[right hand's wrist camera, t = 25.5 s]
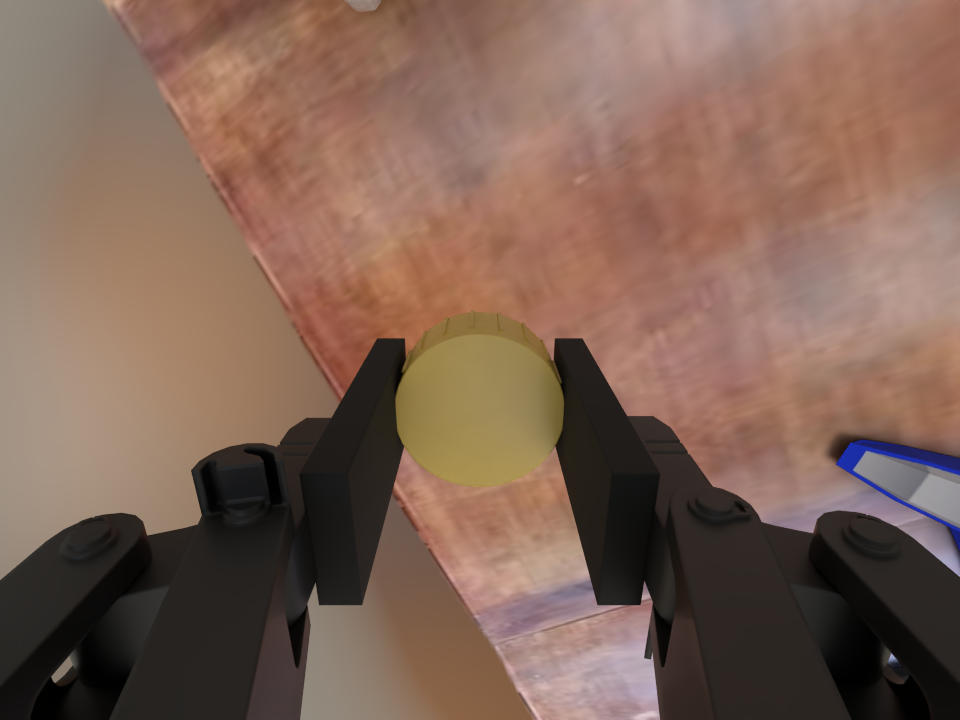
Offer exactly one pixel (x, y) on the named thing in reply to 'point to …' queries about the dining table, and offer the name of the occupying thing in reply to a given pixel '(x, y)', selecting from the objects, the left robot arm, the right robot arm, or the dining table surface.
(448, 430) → the cap
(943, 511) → the toy spaceship
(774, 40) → the dining table surface
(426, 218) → the dining table surface
